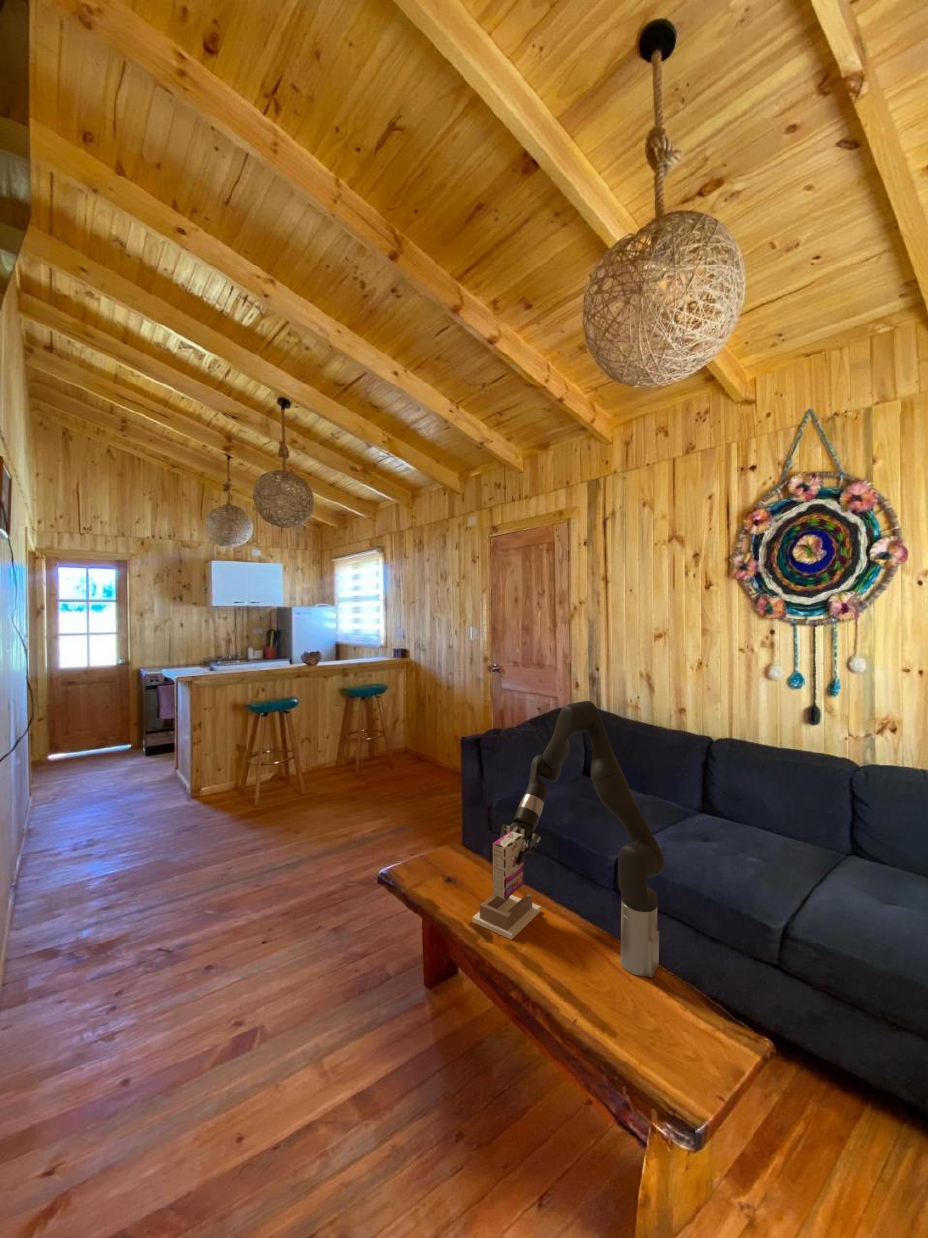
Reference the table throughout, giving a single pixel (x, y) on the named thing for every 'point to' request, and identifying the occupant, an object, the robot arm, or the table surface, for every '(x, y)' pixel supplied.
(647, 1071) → the table surface
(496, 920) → the slot stand
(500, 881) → the candy bar box
